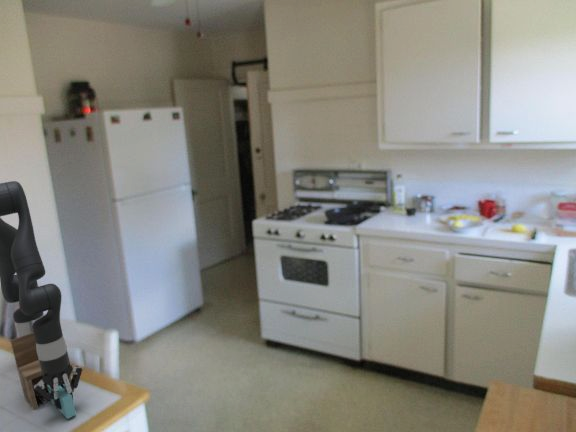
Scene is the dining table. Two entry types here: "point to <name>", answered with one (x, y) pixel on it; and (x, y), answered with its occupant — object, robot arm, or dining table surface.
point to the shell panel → (65, 402)
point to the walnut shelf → (29, 367)
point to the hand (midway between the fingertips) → (64, 405)
